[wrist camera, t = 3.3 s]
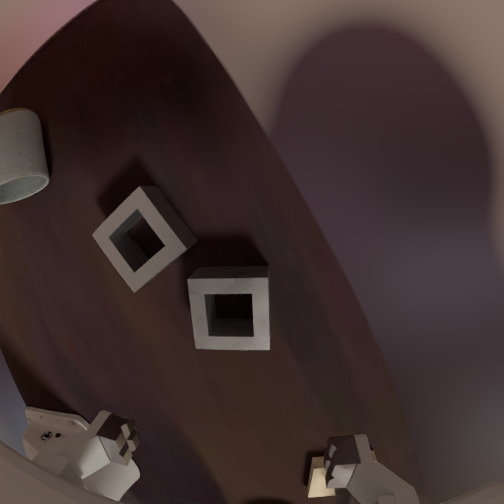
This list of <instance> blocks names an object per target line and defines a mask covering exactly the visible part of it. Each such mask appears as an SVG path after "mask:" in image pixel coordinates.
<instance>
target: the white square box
mask: <svg viewBox="0 0 504 504" xmlns="http://www.w3.org/2000/svg"><path fill="white" fill-rule="evenodd" d="M142 217H144V218H145V219H146V221H147V222H148V224H149V225H150V226H151V228H152V229H153V230H154V232H155V233H156V234H157V236H158V237H159V238H160V240H161V241H162V242H163V244H164V245H165V247H164V248H162V249H161V250H160V251H159V252H158V253H157V254H155V255H154V256H153V257H152V258H151V259H150V260H149V259H148V258H147V256H146V255H145V254H144V252H143V251H142V250H141V248H140V247H139V246H138V244H137V243H136V241H135V240H134V239H133V237H132V236H131V235H130V233H129V232H128V230H129V229H130V228H132V227H133V226H134V225H135V224H136V223H137V222H138V221H139V220H140V219H141V218H142ZM92 235H93V237H94V238H95V240H96V241H97V243H98V244H99V246H100V247H101V249H102V250H103V251H104V253H105V254H106V256H107V257H108V258H109V260H110V261H111V263H112V264H113V265H114V267H115V268H116V269H117V271H118V272H119V274H120V275H121V276H122V278H123V279H124V280H125V282H126V283H127V284H128V285H129V287H130V288H131V289H132V291H133V292H134V293H135V292H136V291H137V290H139V289H140V288H141V287H142V286H144V285H145V284H146V283H148V282H149V281H150V280H152V279H153V278H154V277H155V276H156V275H158V274H159V273H160V272H161V271H162V270H164V269H165V268H166V267H167V266H168V265H170V264H171V263H172V262H173V261H174V260H176V259H177V258H178V257H179V256H181V255H182V254H183V253H184V252H186V251H187V250H188V249H189V248H190V247H192V246H193V245H194V244H195V243H197V242H198V240H197V238H196V237H195V236H194V234H193V233H192V232H191V230H190V229H189V228H188V227H187V225H186V224H185V223H184V221H183V220H182V219H181V217H180V216H179V215H178V213H177V212H176V211H175V210H174V208H173V207H172V206H171V204H170V203H169V202H168V200H167V199H166V198H165V196H164V195H163V194H162V192H161V191H160V190H159V188H158V187H157V186H139V187H138V188H137V189H136V190H135V191H134V192H133V193H132V194H131V195H130V196H129V197H128V198H127V199H126V200H125V201H124V202H123V203H122V204H121V205H120V206H119V207H118V208H117V209H116V210H115V211H114V212H113V213H112V214H111V215H110V216H109V217H108V218H107V219H106V220H105V221H104V222H103V223H102V224H101V226H100V227H99V228H98V229H97V230H96V231H95V232H94V233H93V234H92Z"/></svg>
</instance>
